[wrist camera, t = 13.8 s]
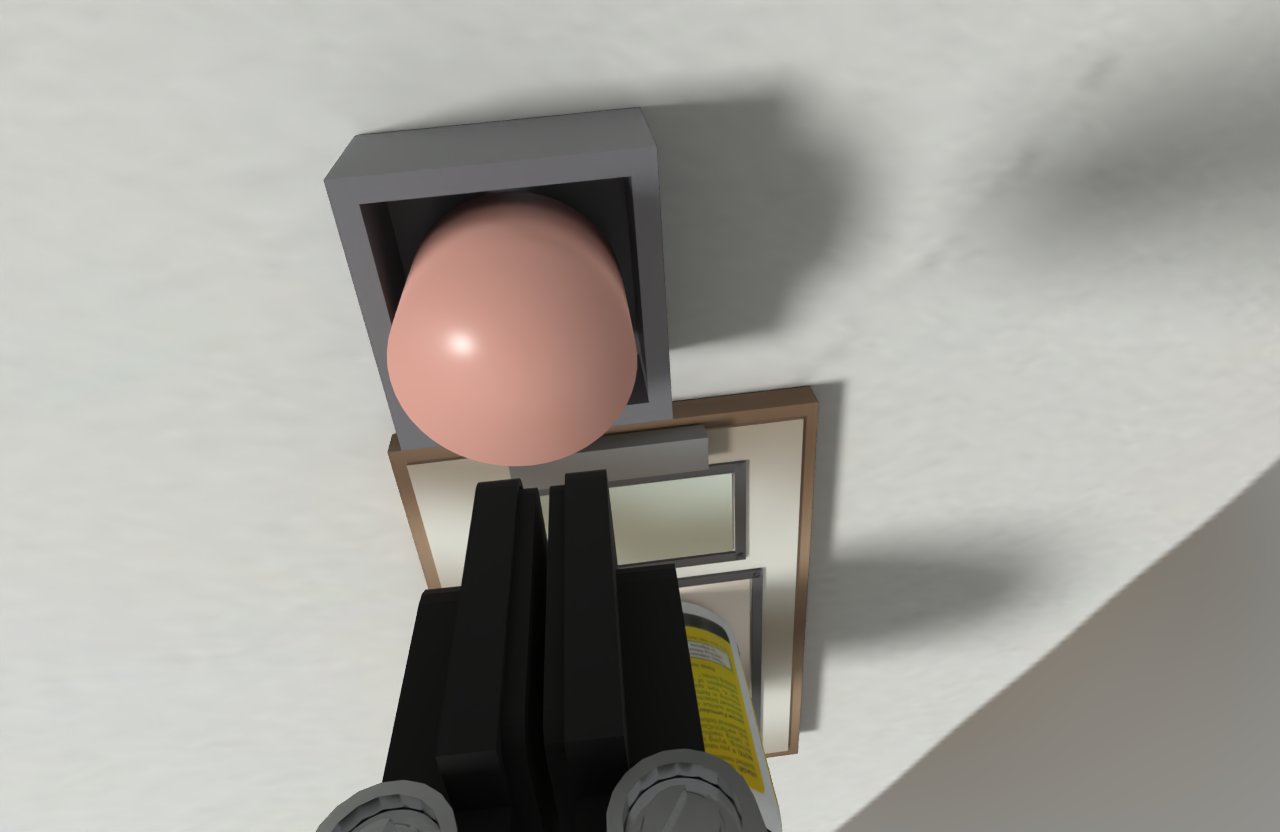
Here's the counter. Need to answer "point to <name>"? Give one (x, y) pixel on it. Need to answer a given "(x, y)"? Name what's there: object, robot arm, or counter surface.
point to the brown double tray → (676, 521)
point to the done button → (513, 332)
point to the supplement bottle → (728, 706)
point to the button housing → (507, 162)
